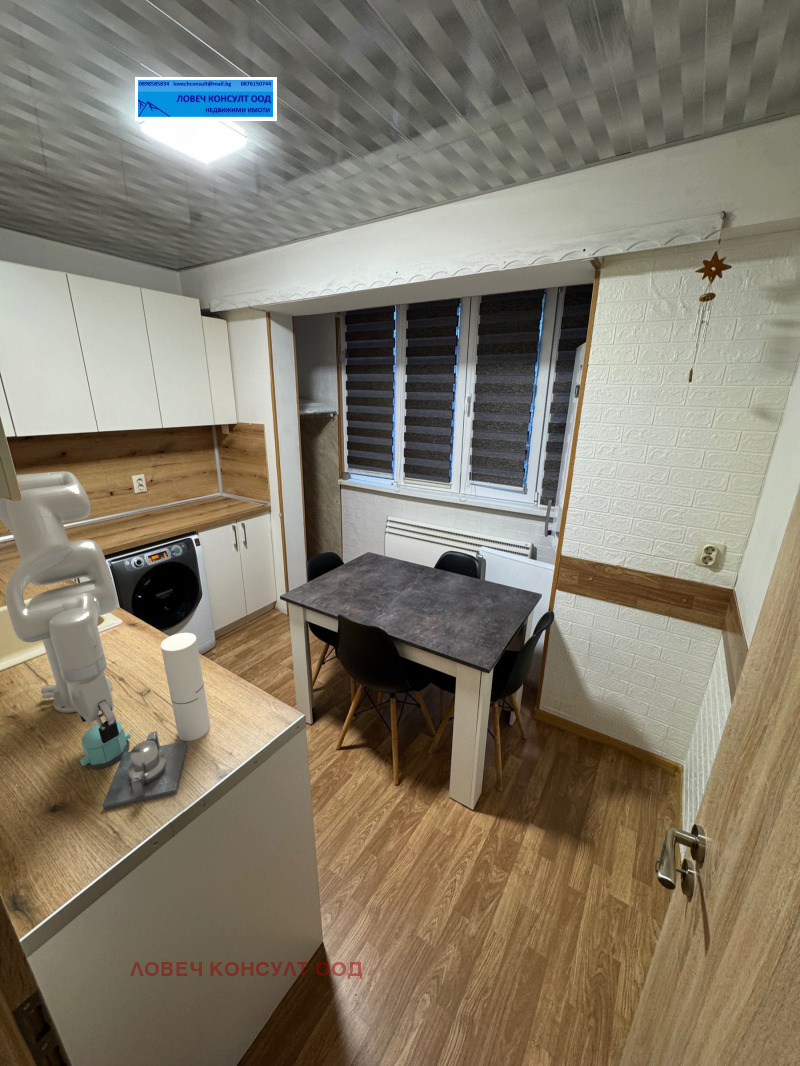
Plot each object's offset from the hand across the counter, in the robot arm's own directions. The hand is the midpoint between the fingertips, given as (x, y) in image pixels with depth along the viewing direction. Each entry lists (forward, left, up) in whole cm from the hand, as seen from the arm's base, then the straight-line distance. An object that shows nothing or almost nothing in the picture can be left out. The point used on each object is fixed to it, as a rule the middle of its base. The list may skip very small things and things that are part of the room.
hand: (100, 727), depth 93 cm
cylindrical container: (+18, +2, -7) cm, 19 cm away
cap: (+1, -1, -6) cm, 6 cm away
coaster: (+1, -1, -7) cm, 7 cm away
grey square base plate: (+11, -9, -7) cm, 16 cm away
